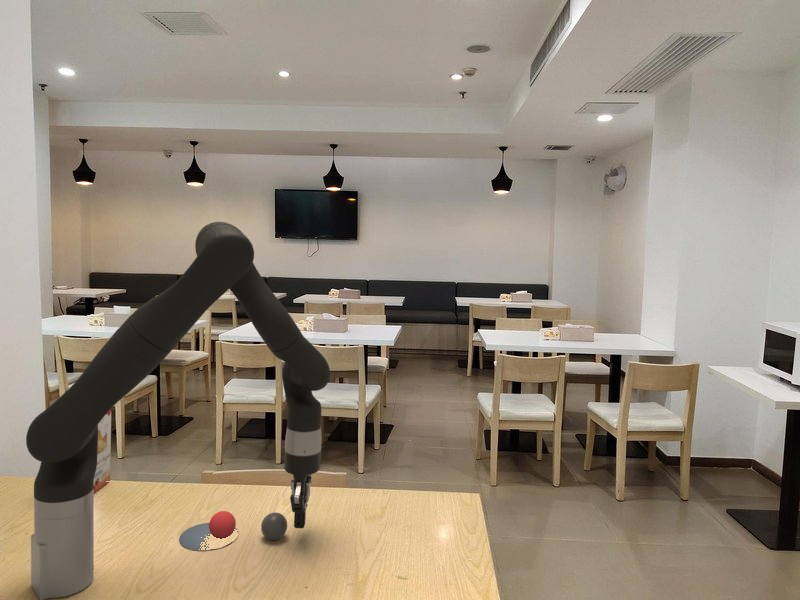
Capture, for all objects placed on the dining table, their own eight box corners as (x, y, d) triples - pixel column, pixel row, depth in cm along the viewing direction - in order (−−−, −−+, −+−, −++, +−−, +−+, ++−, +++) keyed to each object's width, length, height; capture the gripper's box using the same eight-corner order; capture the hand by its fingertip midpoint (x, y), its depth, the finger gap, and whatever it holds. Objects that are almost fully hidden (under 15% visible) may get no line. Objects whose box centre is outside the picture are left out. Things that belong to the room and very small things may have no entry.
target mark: (195, 557, 116) (195, 556, 116) (169, 534, 124) (169, 533, 124) (248, 538, 125) (248, 537, 125) (221, 518, 133) (221, 517, 133)
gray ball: (273, 521, 121) (264, 546, 121) (295, 520, 124) (287, 544, 125) (261, 507, 125) (253, 531, 125) (283, 507, 129) (275, 530, 129)
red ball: (228, 527, 120) (204, 539, 121) (242, 535, 124) (219, 545, 125) (225, 503, 124) (202, 514, 124) (238, 511, 128) (216, 521, 128)
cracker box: (81, 506, 136) (81, 418, 134) (55, 504, 136) (55, 416, 134) (112, 481, 150) (112, 402, 148) (89, 480, 150) (89, 400, 148)
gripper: (316, 460, 116) (312, 543, 118) (324, 438, 130) (321, 513, 131) (279, 458, 116) (275, 541, 118) (290, 436, 130) (287, 511, 131)
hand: (299, 526), depth 125 cm, fingers closed
